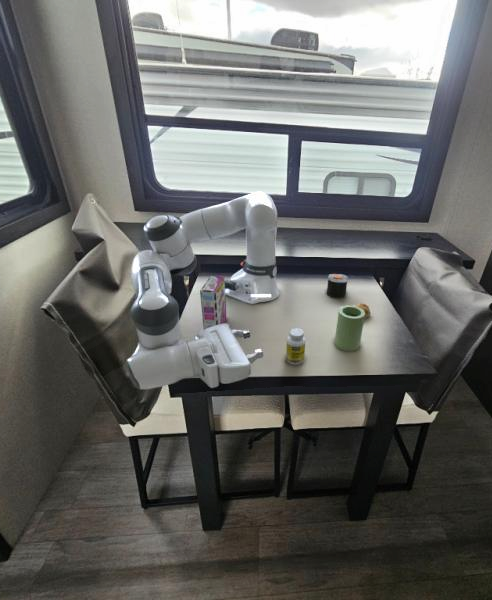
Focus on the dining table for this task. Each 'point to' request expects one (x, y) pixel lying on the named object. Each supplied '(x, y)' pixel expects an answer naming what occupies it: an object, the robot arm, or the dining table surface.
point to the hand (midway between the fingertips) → (255, 342)
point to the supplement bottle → (295, 346)
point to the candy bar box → (213, 302)
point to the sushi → (337, 285)
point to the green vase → (349, 327)
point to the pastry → (365, 308)
